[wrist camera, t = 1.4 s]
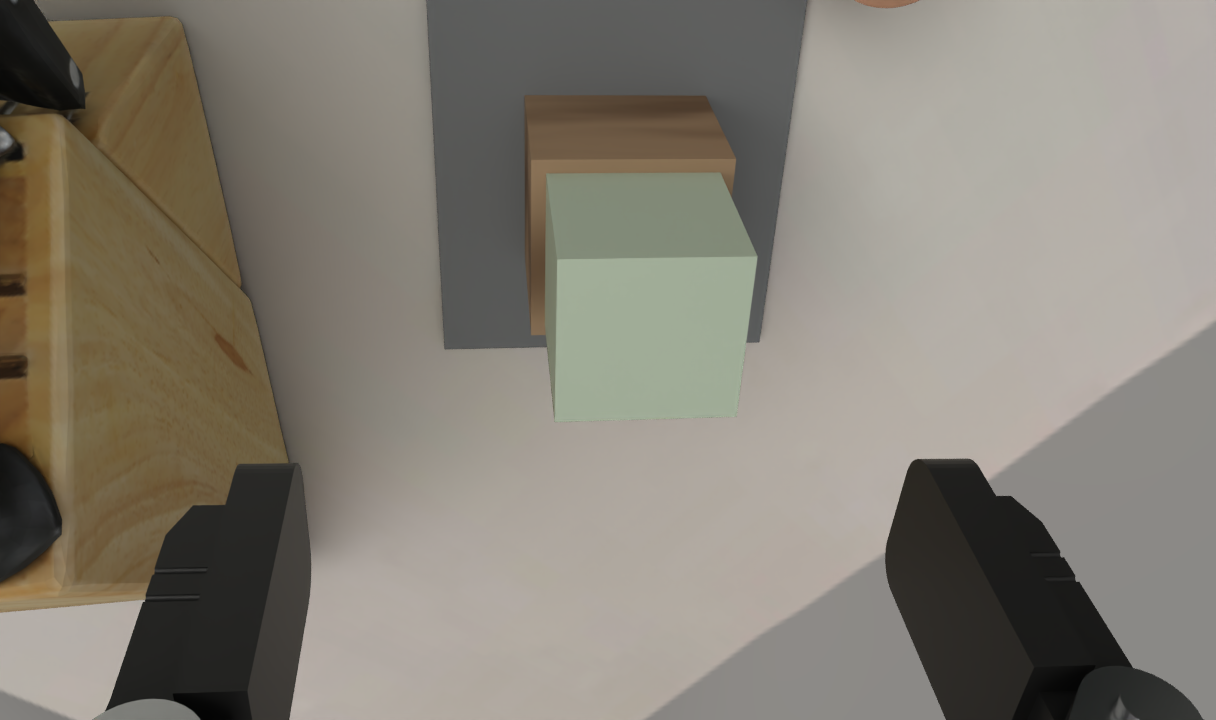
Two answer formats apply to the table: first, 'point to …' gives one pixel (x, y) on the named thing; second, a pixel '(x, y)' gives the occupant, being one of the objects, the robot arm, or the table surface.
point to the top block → (645, 296)
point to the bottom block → (610, 154)
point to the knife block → (113, 310)
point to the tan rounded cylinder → (886, 3)
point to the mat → (589, 65)
